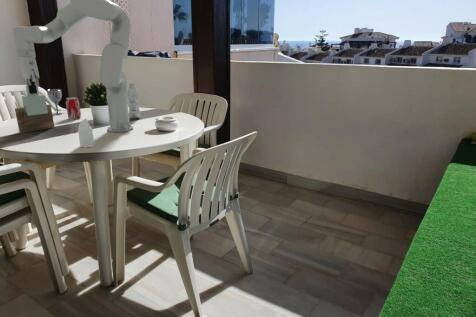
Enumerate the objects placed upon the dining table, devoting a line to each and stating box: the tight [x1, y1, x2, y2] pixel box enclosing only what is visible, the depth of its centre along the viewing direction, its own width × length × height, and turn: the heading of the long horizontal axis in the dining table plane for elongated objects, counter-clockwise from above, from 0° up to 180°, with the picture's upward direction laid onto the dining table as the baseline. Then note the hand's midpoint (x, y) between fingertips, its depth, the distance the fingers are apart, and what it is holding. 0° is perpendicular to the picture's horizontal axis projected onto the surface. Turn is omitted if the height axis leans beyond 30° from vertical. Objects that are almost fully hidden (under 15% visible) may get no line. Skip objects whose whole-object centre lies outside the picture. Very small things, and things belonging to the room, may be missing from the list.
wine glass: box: [46, 88, 65, 116], centre depth 218 cm, size 8×8×15 cm
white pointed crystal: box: [77, 118, 95, 149], centre depth 151 cm, size 6×12×6 cm
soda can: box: [65, 96, 82, 120], centre depth 206 cm, size 7×7×12 cm
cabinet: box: [21, 84, 48, 116], centre depth 173 cm, size 5×9×14 cm, turn 136°
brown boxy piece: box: [14, 103, 56, 134], centre depth 180 cm, size 11×16×12 cm
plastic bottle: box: [127, 83, 141, 120], centre depth 205 cm, size 6×7×20 cm
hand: (33, 93), depth 172 cm, fingers closed on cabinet, 1 cm apart
